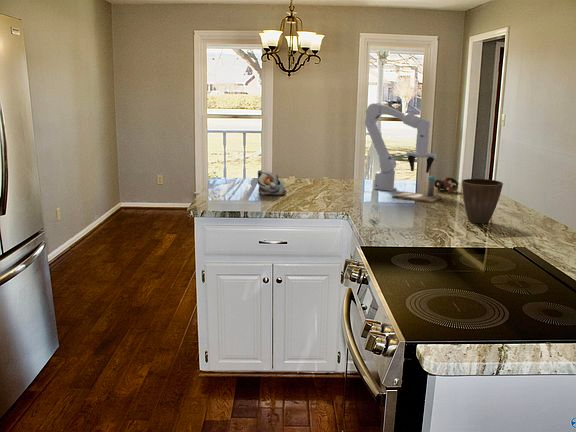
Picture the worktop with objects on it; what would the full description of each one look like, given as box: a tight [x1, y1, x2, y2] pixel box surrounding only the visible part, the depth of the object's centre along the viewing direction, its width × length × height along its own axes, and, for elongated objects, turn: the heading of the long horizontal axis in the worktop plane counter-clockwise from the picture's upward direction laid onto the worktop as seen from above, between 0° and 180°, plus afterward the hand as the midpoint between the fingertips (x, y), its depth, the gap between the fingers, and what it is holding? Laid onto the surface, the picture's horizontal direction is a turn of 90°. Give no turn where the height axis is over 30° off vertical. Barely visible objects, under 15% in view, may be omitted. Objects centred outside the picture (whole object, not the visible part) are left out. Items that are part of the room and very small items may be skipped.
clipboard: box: [392, 191, 442, 204], centre depth 256 cm, size 19×14×1 cm
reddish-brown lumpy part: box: [434, 176, 459, 194], centre depth 274 cm, size 12×10×8 cm
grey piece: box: [257, 170, 288, 196], centre depth 255 cm, size 15×12×14 cm
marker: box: [427, 175, 436, 196], centre depth 255 cm, size 3×3×9 cm
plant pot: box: [461, 178, 504, 224], centre depth 210 cm, size 15×15×16 cm
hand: (419, 171), depth 268 cm, fingers open, 7 cm apart
